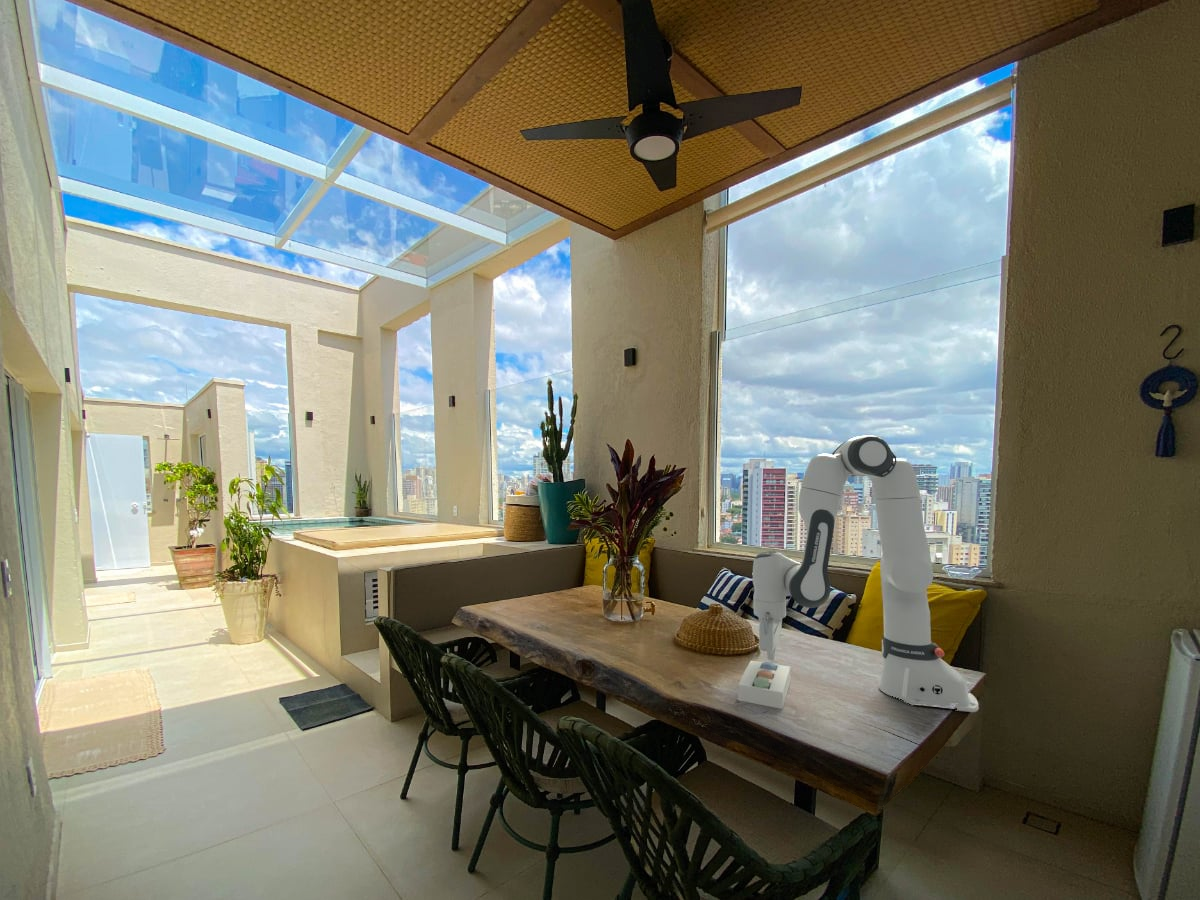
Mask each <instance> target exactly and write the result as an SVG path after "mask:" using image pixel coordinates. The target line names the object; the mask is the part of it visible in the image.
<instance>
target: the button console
mask: <svg viewBox="0 0 1200 900" xmlns="http://www.w3.org/2000/svg"><path fill="white" fill-rule="evenodd" d="M762 663H764V662H763V661H757V660H750V662H749V663H748V665H747V667H746V668H745V671H744V672H743V674H742V676H741V678H740V680H739V682H737V683H738V684H737V701H739V702H744V703H750V704H755V705H758V706H765V707H769V708H770V707H771V708H775V709H780V710H783V709H784V705H785V703H786V702H785V701H786V699H787V694H788V693H789V688H790V684H791V676H792V675H791V674H792V673H791V666H788V665H781V664H776V663H774V664H775V665H776V671H775V670H768V669H762ZM761 670H765V671H770V672H771V673H772V677H774V678H772V679H768V680H769V686H770V687H769V689H766V688H760V687H755V686H754V678H755V677H758V672H759V671H761Z"/></svg>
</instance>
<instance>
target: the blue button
mask: <svg viewBox="0 0 1200 900" xmlns="http://www.w3.org/2000/svg"><path fill="white" fill-rule="evenodd" d="M775 664H776V663H773V662H767V661H766V662H764V663H762V669H768V670H775V671H776V665H775ZM772 678H774V677H772Z"/></svg>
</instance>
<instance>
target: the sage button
mask: <svg viewBox="0 0 1200 900" xmlns="http://www.w3.org/2000/svg"><path fill="white" fill-rule="evenodd" d="M754 686H755V687H760V688H766V689H769V680H768V679H767V678H765V677H755V678H754Z"/></svg>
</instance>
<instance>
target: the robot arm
mask: <svg viewBox="0 0 1200 900" xmlns="http://www.w3.org/2000/svg"><path fill="white" fill-rule="evenodd" d="M865 476H866V477H868V478H869V480H870V481H871V484H872V487H873V489H874V503H875V511H876V520H877V528H878V532H879V533H878V534H879V538H880V544H881V551H882V555H881V557H880V561H879V563H880V564H879V565H880V584H881V597H882V607H883V608H882V609H883V610H882V611H883V635H882V638H881V639H882V640H881V654H882V657H883V659H882V669H881V674H880V678H879V682H878V686H877V687H878V689H879V690H880V691H881V692H883V693H884V694H886V695H887V696H890V697H892V696H893V697H892V698H895V697H896V699H897V698H899V699H898V700H900V699H902V700H904V701H905V702H907V703H911V704H926V705H940V706H949V705H950V704H951V703H958V704H957V706H955V707H956V708H957V710H956V711H957V712H958V711H959V712H968V713H976V712H978V711H979V709H980V707H979V701H978V700H977V698H976V696H974V695H973V694H972V693H971V692H969V691H968V689H967V684H966V682H965V680H964V678H963V676H962V675H961V674H960V673H959V672H958V671H957V670H955V669H954V667H952V666H951V665H949V664H948V663H947V662H946V661H945V660H943V659H942V658H943V657H945V652H944V650H943V649H942V648H941V647H940V646H939V645H938V644H936V643H935V642H933V641H932V639H931V638H932V637H931V635H932V634H931V611H930V606H929V600H928V592H927V591H928V590H927V589H928V588H929V587H930V586H931V585H932V583H933V579H934V570H933V568H934V567H933V563H932V558H931V554H930V553H931V552H930V548H929V543H928V539H927V534H926V530H925V525H924V518H923V515H924V514H923V509H922V508H923V507H922V499H921V492H920V487H919V486H920V485H919V482H918V479H917V475H916V472H915V470H914V466H913V465H912V463H910V462H909V461H908V460H906V459H902V458H900V457H899V458H897V456H896V455H895V453H894V452H893V451H892V449H891V448H890V446H889V444H888V443H887V442H886V441H885V440H884V439H882V438H881V437H880V436H876V435H872V434H871V435H870V434H865V435H860V436H856V437H855V436H854V437H853V438H852V437H851V438H850V439H848V440H847V441H844V442H843V443H840V445H839V446H838V447H837V448H836V449H835V450H834V451H833V452H832V453H831V454H830V453H821V454H819V453H818V454H817V455H814V456H813V457H812V458H811V459H810V461H809V462H808V465H807V467H806V469H805V472H804V475H803V478H802V482H801V485H800V489H799V490H800V491H799V494H798V509H797V510H798V512H799V515H800V516H801V518H802V520H803V521H804V522H803V523H804V525H805V529H806V540H805V544H804V551H803V557H802V561H801V562H799V561H797V560H794V559H791V558H789V557H787V556H786V555H784V554H783V553H781V552H780V551H776V550H773V551H772V550H771V551H765V552H761V553H758V554H757V555H756V556H755V557H754V560H753V562H752V563H753V564H752V584H753V587H754V592H753V598H752V599H753V602H752V603H753V614H754V616H756V617H758V622H759V630H758V632H759V633H758V635H759V636H758V637H759V638H758V639H759V640H758V643H759V644H758V646H759V650H760V651H761V652H766V653H767V654H766V655H767V660H769V661H774V660H775V658H776V648H777V643H778V640H779V639H780V635H781V632H782V628H783V627H782V625H783V624H782V623H783V618H784V619H785V618H786V616H787V601H786V600H787V599H786V597H792V598H793V600H794V601H795V602H796V603H797V604H798V605H799V606H801V607H804V608H808V609H812V608H813V609H814V608H818V607H821V606H822V605H824V604H825V603H826V602H827V601H828V600H829V597H830V595H831V583H830V579H829V574H828V573H829V572H828V571H829V569H828V568H829V563H830V556H831V555H830V554H831V550H832V545H833V539H834V530H835V525H836V521H837V517H838V512H839V509H840V505H841V503H842V502H841V501H842V498H843V497H842V496H843V493H844V486H845V485H846V482H847V480H848V479H849V478H851V477H865ZM967 691H968V692H969V693H968V692H967ZM902 700H901V701H902ZM905 702H904V703H905ZM907 703H906V704H907ZM949 703H950V704H949Z"/></svg>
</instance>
